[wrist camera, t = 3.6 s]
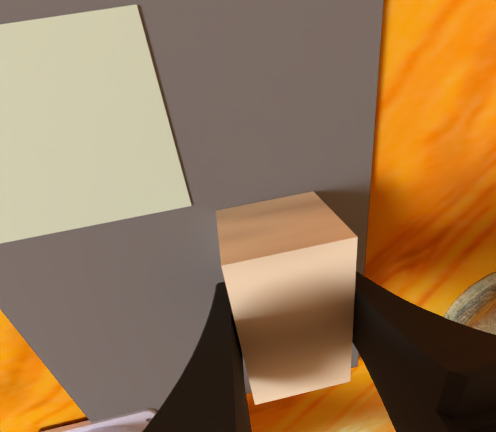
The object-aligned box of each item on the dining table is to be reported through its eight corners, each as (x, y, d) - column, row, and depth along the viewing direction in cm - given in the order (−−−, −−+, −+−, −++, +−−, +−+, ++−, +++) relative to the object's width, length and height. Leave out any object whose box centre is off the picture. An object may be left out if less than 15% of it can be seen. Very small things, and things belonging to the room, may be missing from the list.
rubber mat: (354, 361, 19) (358, 367, 19) (99, 423, 18) (96, 431, 18) (392, -245, 7) (404, -266, 7) (-365, -174, 6) (-409, -193, 6)
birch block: (317, 314, 16) (350, 381, 13) (243, 332, 16) (255, 405, 12) (313, 191, 12) (357, 236, 9) (215, 210, 12) (221, 265, 9)
